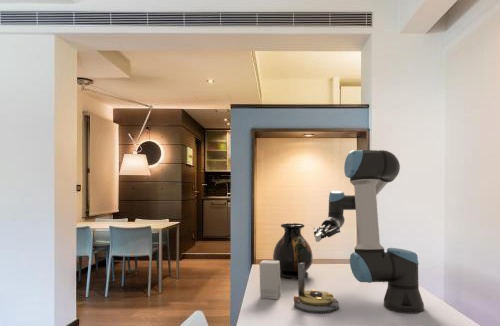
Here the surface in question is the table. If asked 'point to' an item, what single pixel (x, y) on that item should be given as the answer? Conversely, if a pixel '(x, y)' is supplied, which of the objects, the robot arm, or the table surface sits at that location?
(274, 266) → the skincare box
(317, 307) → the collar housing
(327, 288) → the table surface
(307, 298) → the brass disc with post
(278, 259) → the black vase
